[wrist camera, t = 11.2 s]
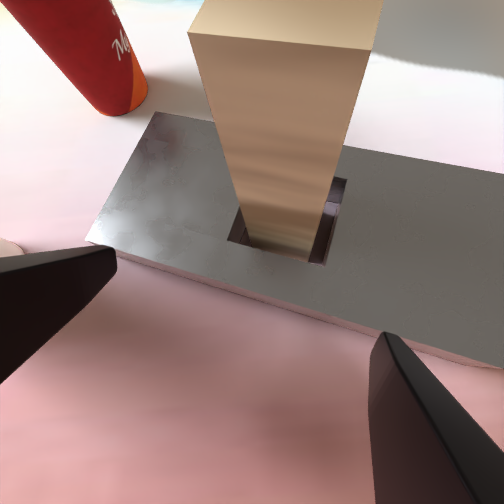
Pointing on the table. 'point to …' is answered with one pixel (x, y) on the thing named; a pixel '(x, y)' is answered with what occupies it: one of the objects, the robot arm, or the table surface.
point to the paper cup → (86, 49)
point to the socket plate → (339, 245)
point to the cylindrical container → (9, 248)
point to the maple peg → (283, 104)
